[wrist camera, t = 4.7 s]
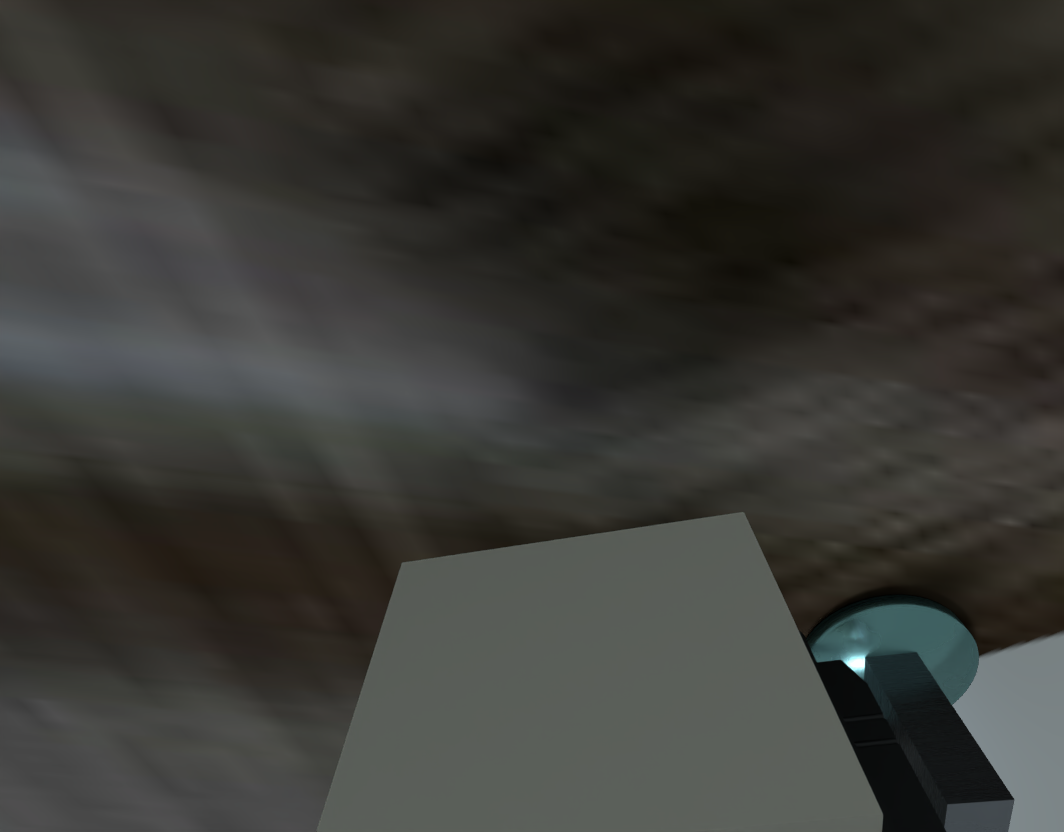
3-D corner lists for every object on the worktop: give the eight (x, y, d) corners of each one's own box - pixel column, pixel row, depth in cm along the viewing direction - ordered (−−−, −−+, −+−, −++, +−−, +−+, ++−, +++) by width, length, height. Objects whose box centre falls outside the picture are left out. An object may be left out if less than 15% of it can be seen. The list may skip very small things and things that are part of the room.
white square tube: (402, 562, 11) (304, 866, 7) (743, 512, 11) (883, 815, 6) (482, 773, 14) (449, 1092, 9) (759, 743, 13) (866, 1072, 9)
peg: (796, 605, 21) (870, 759, 16) (976, 585, 20) (1113, 740, 15) (798, 722, 23) (863, 890, 18) (960, 708, 22) (1074, 878, 17)
